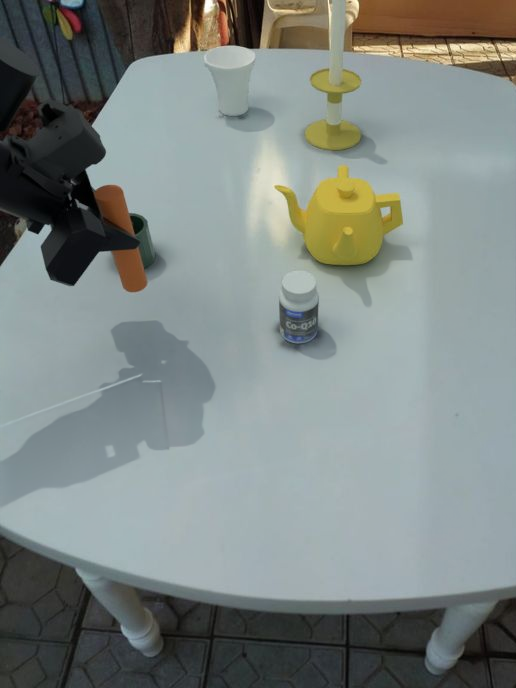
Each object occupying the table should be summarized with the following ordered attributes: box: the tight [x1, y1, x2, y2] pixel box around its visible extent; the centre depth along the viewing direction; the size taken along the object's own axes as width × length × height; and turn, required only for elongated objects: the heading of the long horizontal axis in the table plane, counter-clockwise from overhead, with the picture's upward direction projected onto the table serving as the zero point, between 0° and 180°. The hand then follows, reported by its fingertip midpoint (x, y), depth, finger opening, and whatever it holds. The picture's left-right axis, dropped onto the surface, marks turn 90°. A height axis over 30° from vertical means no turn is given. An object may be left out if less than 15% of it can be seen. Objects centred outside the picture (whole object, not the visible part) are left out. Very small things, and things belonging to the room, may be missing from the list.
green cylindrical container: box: [109, 212, 156, 269], centre depth 79 cm, size 6×6×6 cm
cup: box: [203, 45, 257, 117], centre depth 105 cm, size 9×9×10 cm
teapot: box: [274, 164, 404, 266], centre depth 81 cm, size 14×13×10 cm
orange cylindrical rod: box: [94, 184, 148, 293], centre depth 63 cm, size 3×3×12 cm
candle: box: [304, 0, 362, 151], centre depth 93 cm, size 10×10×27 cm
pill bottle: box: [278, 270, 320, 344], centre depth 70 cm, size 5×5×8 cm
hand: (134, 236), depth 63 cm, fingers closed on orange cylindrical rod, 3 cm apart
